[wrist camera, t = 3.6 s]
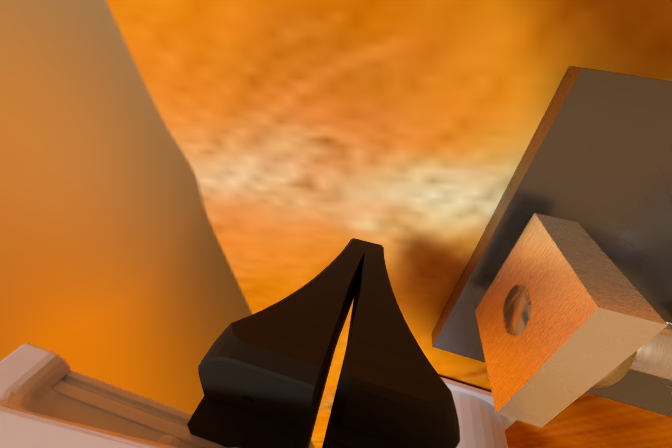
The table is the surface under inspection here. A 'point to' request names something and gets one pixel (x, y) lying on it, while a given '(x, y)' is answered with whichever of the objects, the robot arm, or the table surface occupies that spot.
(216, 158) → the table surface
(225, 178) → the table surface
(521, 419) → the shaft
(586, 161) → the bearing bracket
